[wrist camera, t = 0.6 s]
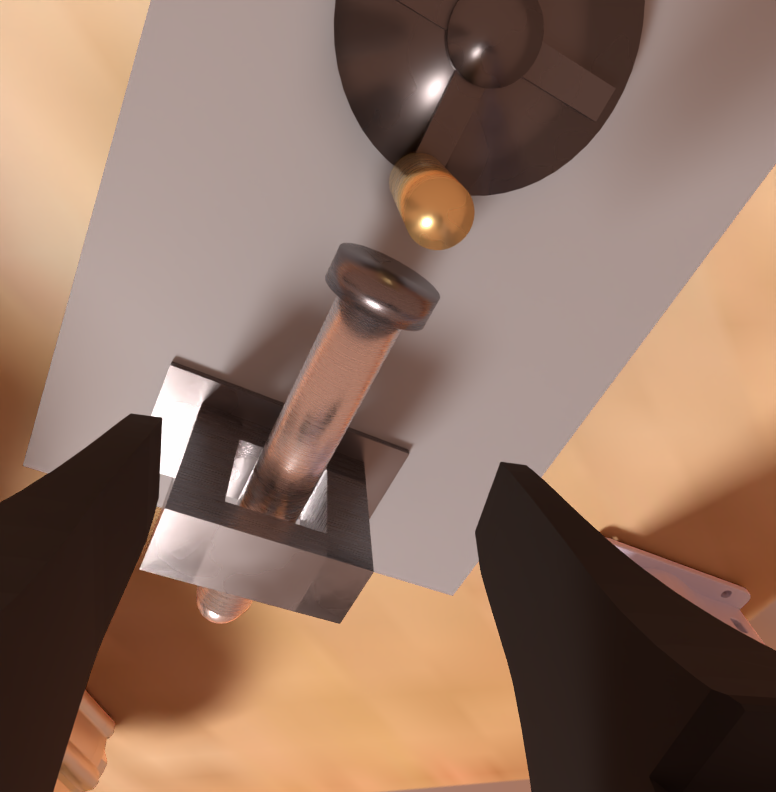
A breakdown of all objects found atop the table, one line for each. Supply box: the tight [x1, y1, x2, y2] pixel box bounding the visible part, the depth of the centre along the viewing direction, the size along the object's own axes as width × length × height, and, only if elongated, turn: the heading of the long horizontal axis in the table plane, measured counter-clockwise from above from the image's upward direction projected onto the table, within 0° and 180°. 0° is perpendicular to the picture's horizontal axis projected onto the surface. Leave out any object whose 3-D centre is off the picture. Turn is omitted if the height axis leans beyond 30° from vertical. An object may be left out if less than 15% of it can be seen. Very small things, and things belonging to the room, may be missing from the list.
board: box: [23, 0, 776, 596], centre depth 20 cm, size 18×24×1 cm
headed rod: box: [196, 243, 440, 624], centre depth 19 cm, size 3×14×3 cm, turn 153°
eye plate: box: [139, 361, 409, 624], centre depth 20 cm, size 9×4×6 cm, turn 63°
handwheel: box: [334, 0, 645, 250], centre depth 14 cm, size 8×9×5 cm
